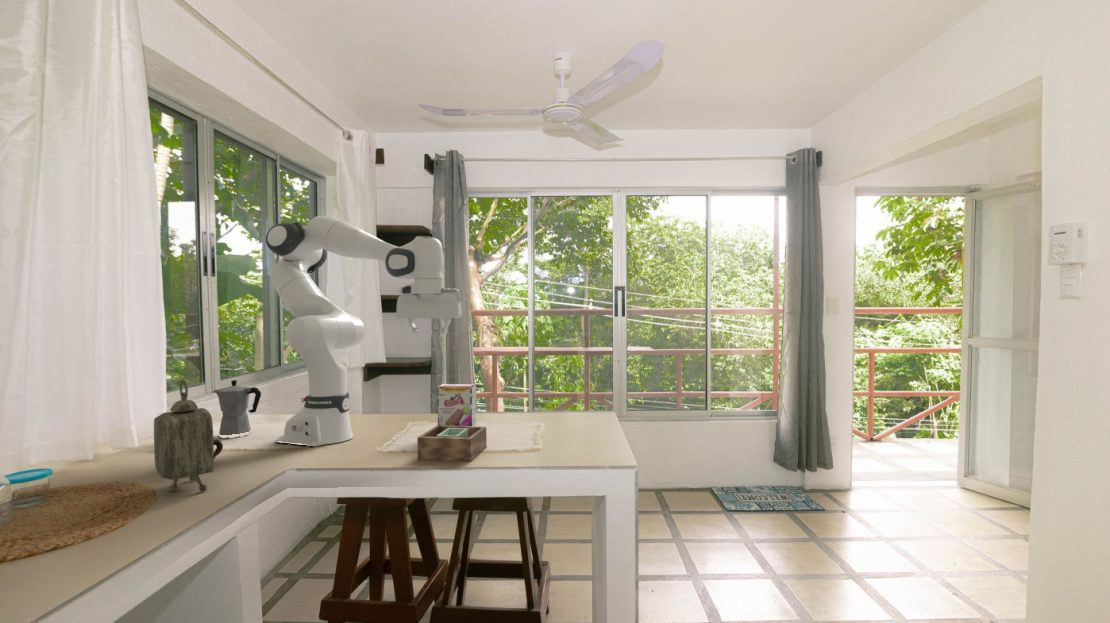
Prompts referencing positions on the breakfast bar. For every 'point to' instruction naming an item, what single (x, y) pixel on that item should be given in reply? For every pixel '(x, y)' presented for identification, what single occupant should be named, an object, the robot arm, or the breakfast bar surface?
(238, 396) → the coffeepot
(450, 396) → the candy bar box
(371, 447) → the breakfast bar surface
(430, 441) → the walnut crate
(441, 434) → the sage crate
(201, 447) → the tabletop clock
